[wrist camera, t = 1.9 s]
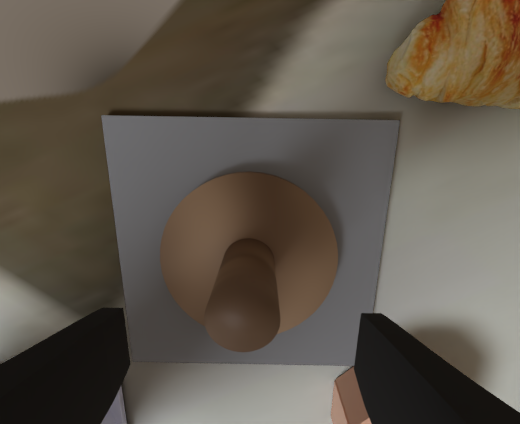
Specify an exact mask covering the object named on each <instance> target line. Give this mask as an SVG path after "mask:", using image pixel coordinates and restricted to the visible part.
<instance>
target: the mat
mask: <svg viewBox="0 0 520 424" xmlns="http://www.w3.org/2000/svg"><path fill="white" fill-rule="evenodd" d="M101 116H102V124H103V132H104V140H105V148H106V156H107V163H108V171H109V179H110V187H111V195H112V203H113V211H114V218H115V226H116V234H117V242H118V250H119V258H120V265H121V273H122V281H123V289H124V297H125V305H126V312H127V320H128V328H129V336H130V344H131V352H132V359H133V362H180V363H231V364H283V365H335V366H354V363H355V356H356V348H357V340H358V333H359V325H360V317H361V313H373V308H374V301H375V294H376V287H377V280H378V272H379V265H380V258H381V251H382V244H383V237H384V230H385V223H386V216H387V209H388V202H389V195H390V188H391V181H392V174H393V166H394V159H395V152H396V145H397V138H398V131H399V124H400V120H359V119H297V118H234V117H172V116H110V115H101ZM236 172H262V173H267V174H271V175H275V176H278V177H281V178H283V179H286V180H288V181H290V182H291V183H293V184H295V185H297V186H298V187H300V188H301V189H302V190H304V191H305V192H306V193H307V194H308V195H309V196H310V197H311V198H313V199H314V201H315V202H316V203H317V204H318V205H319V206H320V208H321V209H322V210H323V211H324V213H325V215H326V216H327V218H328V220H329V221H330V224H331V226H332V228H333V231H334V234H335V238H336V241H337V249H338V266H337V271H336V276H335V279H334V282H333V285H332V287H331V289H330V292H329V294H328V295H327V297H326V298H325V300H324V301H323V303H322V304H321V305H320V307H319V308H318V309H317V310H316V311H315V312H314V313H313V314H312V315H311V316H310V317H309V318H307V319H306V320H304V321H303V322H302V323H300V324H299V325H297V326H295V327H293V328H291V329H289V330H287V331H284V332H282V333H279V334H277V335H276V336H275V338H274V339H273V340H272V341H271V342H270V343H269V344H267V345H266V346H265V347H263V348H261V349H258V350H255V351H251V352H235V351H231V350H228V349H225V348H223V347H222V346H220V345H218V344H217V343H216V342H215V341H214V340H213V339H212V338H211V337H210V336H209V334H208V332H207V330H206V328H205V326H203V325H202V324H200V323H198V322H197V321H195V320H194V319H193V318H191V317H190V316H189V315H188V314H187V313H186V312H185V311H184V310H183V309H182V308H181V307H180V306H179V305H178V304H177V302H176V301H175V300H174V298H173V297H172V295H171V293H170V292H169V290H168V288H167V285H166V283H165V281H164V277H163V274H162V270H161V264H160V246H161V239H162V235H163V231H164V228H165V226H166V224H167V221H168V219H169V217H170V216H171V214H172V212H173V211H174V209H175V208H176V207H177V206H178V204H179V203H180V202H181V201H182V200H183V199H184V198H185V197H186V196H187V195H188V194H190V193H191V192H192V191H193V190H195V189H196V188H198V187H199V186H201V185H202V184H204V183H206V182H208V181H210V180H212V179H214V178H216V177H219V176H223V175H226V174H230V173H236Z"/></svg>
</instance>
